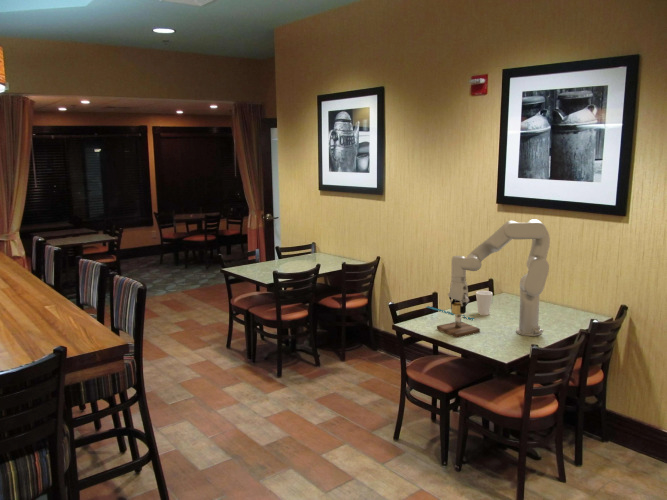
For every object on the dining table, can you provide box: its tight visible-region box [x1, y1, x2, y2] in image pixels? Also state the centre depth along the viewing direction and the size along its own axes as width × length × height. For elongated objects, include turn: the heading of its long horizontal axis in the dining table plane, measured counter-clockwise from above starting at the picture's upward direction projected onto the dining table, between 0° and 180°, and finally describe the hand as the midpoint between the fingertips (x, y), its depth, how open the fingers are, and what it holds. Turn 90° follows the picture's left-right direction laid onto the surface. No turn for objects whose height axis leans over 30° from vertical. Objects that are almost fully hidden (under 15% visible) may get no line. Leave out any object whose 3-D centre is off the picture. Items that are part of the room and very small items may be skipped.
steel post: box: [454, 314, 462, 328], centre depth 290 cm, size 3×3×7 cm
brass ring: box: [450, 302, 465, 315], centre depth 289 cm, size 7×7×4 cm
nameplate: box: [425, 305, 475, 321], centre depth 323 cm, size 37×1×5 cm
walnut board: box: [436, 321, 481, 338], centre depth 291 cm, size 16×16×2 cm
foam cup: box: [475, 290, 494, 316], centre depth 318 cm, size 10×9×13 cm
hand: (458, 311), depth 289 cm, fingers closed on brass ring, 7 cm apart
